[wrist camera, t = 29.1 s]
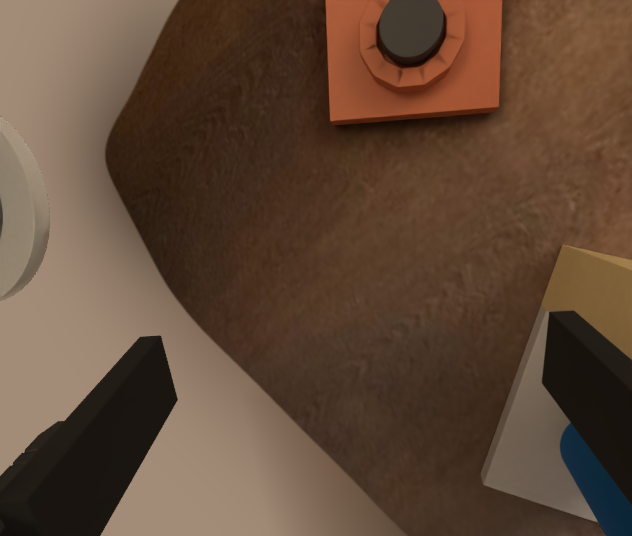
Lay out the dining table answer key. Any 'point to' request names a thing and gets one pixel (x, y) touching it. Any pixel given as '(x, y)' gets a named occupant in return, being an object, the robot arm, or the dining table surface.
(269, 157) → the dining table surface
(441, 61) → the brew pad
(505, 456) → the coffee maker
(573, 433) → the beverage can
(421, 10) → the button
